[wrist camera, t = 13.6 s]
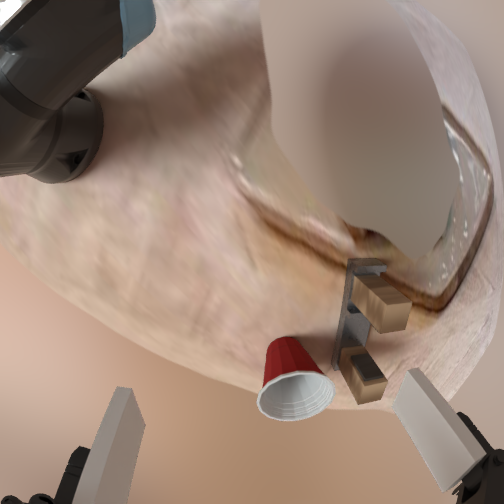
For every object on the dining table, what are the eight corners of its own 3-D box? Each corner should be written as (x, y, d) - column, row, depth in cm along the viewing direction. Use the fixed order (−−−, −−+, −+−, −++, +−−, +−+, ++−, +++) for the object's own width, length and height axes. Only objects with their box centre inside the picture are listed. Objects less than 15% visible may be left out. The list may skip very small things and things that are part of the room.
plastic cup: (237, 355, 44) (239, 408, 32) (281, 311, 42) (299, 359, 30) (283, 383, 46) (295, 432, 35) (326, 344, 44) (350, 390, 33)
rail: (348, 258, 40) (357, 266, 37) (375, 258, 41) (386, 265, 37) (331, 363, 46) (337, 376, 42) (355, 360, 46) (362, 372, 43)
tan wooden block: (354, 275, 39) (386, 305, 29) (376, 274, 39) (412, 302, 30) (350, 302, 40) (379, 337, 30) (372, 301, 40) (404, 332, 31)
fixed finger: (342, 345, 42) (365, 383, 33) (363, 342, 43) (388, 378, 33) (337, 366, 44) (358, 404, 34) (358, 363, 44) (380, 399, 34)
